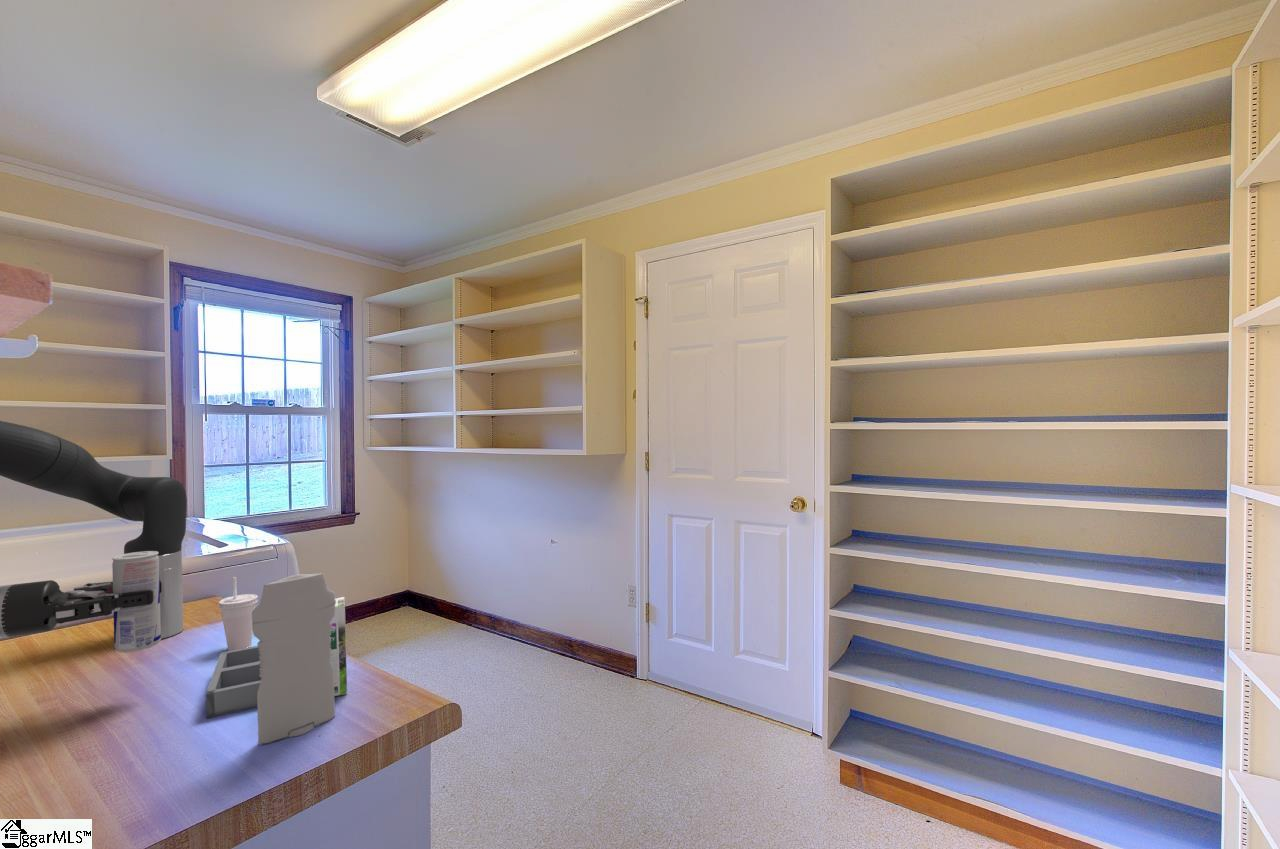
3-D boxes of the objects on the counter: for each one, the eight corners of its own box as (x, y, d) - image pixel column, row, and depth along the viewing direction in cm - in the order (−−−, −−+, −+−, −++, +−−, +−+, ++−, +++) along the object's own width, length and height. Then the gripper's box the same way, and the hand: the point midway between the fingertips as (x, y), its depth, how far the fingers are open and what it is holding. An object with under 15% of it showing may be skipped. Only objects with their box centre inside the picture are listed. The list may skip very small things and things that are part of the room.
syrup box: (305, 703, 89) (303, 610, 89) (308, 688, 94) (305, 600, 94) (347, 695, 91) (345, 604, 91) (346, 680, 96) (344, 594, 96)
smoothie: (216, 648, 112) (214, 577, 112) (254, 639, 117) (252, 570, 116) (223, 657, 107) (221, 583, 107) (263, 647, 112) (261, 576, 112)
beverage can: (170, 640, 94) (168, 550, 94) (137, 654, 88) (134, 558, 88) (139, 639, 94) (137, 549, 94) (104, 653, 89) (102, 558, 89)
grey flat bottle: (332, 710, 86) (328, 565, 86) (343, 718, 84) (340, 569, 84) (250, 740, 78) (246, 580, 78) (259, 751, 76) (256, 586, 76)
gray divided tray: (221, 672, 101) (220, 652, 101) (284, 660, 105) (284, 640, 105) (206, 718, 85) (205, 694, 85) (281, 701, 90) (281, 678, 90)
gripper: (-15, 598, 78) (146, 578, 86) (28, 574, 90) (166, 559, 99) (-13, 653, 78) (148, 628, 87) (30, 621, 90) (167, 602, 99)
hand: (157, 591), depth 93 cm, fingers closed on beverage can, 5 cm apart
